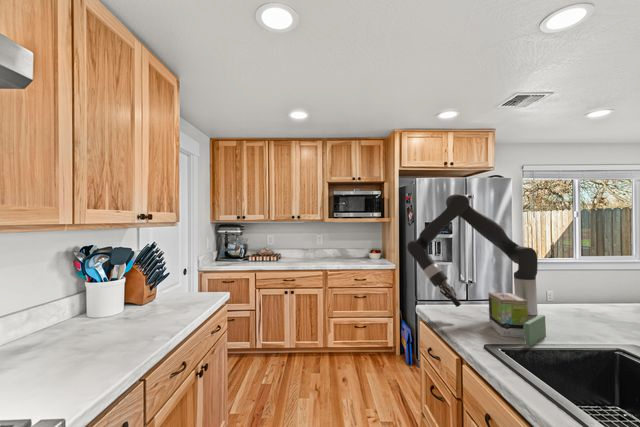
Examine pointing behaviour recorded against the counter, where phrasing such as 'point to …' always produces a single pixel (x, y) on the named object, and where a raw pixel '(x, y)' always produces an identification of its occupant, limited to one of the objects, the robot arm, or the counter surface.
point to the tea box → (508, 314)
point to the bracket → (534, 330)
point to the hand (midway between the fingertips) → (459, 305)
